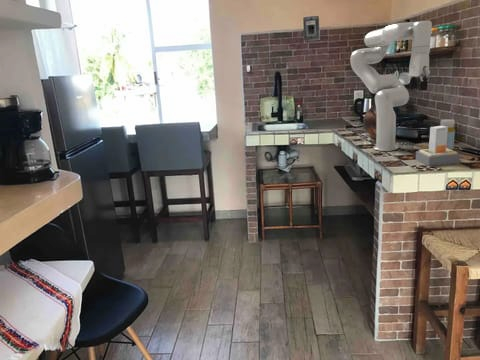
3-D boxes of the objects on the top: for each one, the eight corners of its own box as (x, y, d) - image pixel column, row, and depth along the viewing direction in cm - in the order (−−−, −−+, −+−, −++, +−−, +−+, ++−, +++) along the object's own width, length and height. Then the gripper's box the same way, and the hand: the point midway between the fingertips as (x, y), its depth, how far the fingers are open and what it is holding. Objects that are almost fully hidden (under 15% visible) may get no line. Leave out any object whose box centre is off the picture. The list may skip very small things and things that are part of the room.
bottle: (434, 149, 193) (436, 120, 188) (444, 147, 195) (446, 118, 191) (446, 152, 187) (448, 122, 182) (456, 149, 189) (459, 120, 184)
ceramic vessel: (400, 139, 221) (402, 87, 213) (372, 142, 220) (372, 90, 212) (384, 133, 242) (385, 85, 233) (358, 136, 240) (357, 88, 232)
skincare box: (434, 154, 170) (436, 128, 166) (428, 152, 174) (429, 127, 170) (446, 152, 171) (448, 126, 167) (440, 150, 175) (441, 125, 171)
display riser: (415, 159, 179) (416, 149, 178) (444, 156, 179) (445, 146, 178) (428, 166, 168) (429, 155, 166) (459, 162, 168) (460, 152, 166)
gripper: (403, 51, 178) (401, 88, 183) (421, 51, 161) (419, 91, 167) (419, 49, 178) (417, 86, 183) (439, 49, 161) (435, 90, 167)
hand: (418, 89), depth 175 cm, fingers open, 9 cm apart
